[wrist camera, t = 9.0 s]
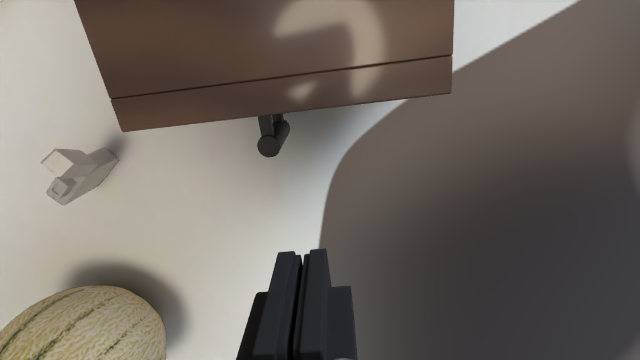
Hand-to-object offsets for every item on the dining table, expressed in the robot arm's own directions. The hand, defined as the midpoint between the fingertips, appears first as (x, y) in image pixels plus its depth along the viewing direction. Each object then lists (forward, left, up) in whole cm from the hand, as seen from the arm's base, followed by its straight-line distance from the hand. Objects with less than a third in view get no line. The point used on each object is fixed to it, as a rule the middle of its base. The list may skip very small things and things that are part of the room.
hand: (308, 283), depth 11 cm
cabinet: (-10, -4, -19) cm, 22 cm away
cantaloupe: (+24, -20, -19) cm, 36 cm away
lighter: (+5, -20, -19) cm, 28 cm away
